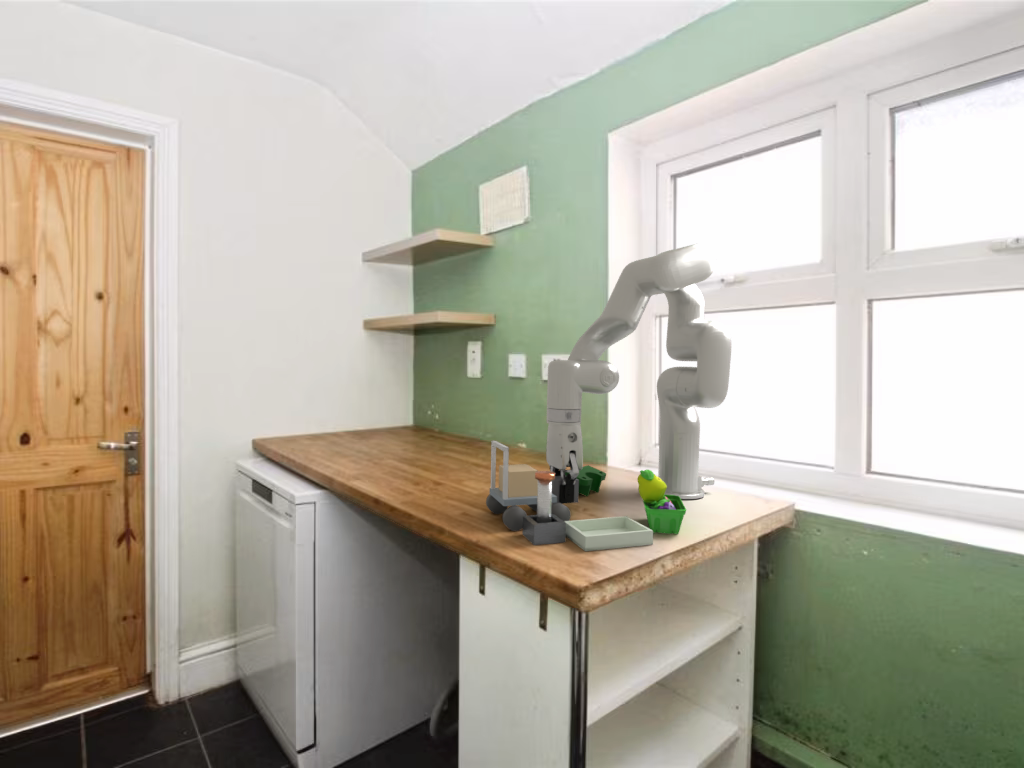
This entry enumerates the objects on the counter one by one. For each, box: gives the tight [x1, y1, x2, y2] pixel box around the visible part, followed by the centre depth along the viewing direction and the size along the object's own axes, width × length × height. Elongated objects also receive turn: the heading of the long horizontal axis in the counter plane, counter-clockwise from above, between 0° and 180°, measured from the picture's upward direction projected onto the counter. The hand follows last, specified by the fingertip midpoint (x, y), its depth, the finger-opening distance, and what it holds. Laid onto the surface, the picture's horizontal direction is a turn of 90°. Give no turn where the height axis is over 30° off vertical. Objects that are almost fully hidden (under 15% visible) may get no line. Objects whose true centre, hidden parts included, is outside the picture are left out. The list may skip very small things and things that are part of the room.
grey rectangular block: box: [552, 476, 580, 505], centre depth 116 cm, size 6×4×5 cm
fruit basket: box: [637, 469, 687, 535], centre depth 105 cm, size 11×9×11 cm
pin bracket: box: [522, 514, 567, 546], centre depth 96 cm, size 6×6×4 cm
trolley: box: [485, 440, 572, 532], centre depth 108 cm, size 13×14×16 cm
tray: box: [564, 515, 654, 552], centre depth 96 cm, size 13×9×2 cm
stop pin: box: [535, 470, 555, 523], centre depth 96 cm, size 4×4×12 cm
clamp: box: [565, 464, 607, 498], centre depth 131 cm, size 12×6×9 cm, turn 135°
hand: (561, 498), depth 116 cm, fingers closed on grey rectangular block, 4 cm apart
